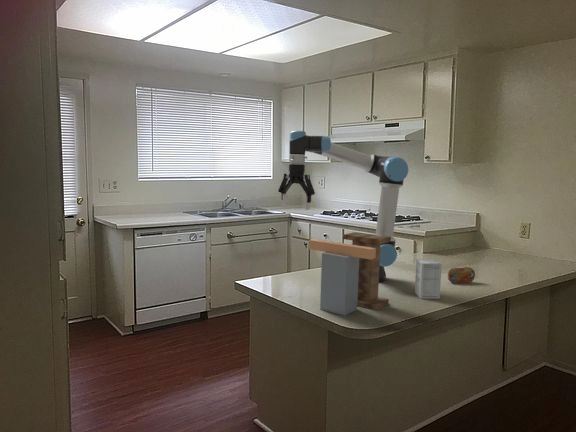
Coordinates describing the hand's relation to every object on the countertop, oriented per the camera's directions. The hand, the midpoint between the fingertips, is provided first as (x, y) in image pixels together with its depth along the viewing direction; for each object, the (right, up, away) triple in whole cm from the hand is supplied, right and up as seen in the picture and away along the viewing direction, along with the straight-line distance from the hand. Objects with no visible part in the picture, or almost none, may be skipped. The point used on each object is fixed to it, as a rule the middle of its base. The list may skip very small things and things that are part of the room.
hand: (295, 208), depth 232 cm
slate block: (+18, -43, -29) cm, 55 cm away
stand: (+30, -42, -18) cm, 55 cm away
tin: (+86, -39, +20) cm, 97 cm away
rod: (+18, -19, -32) cm, 41 cm away
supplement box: (+61, -41, -6) cm, 74 cm away
